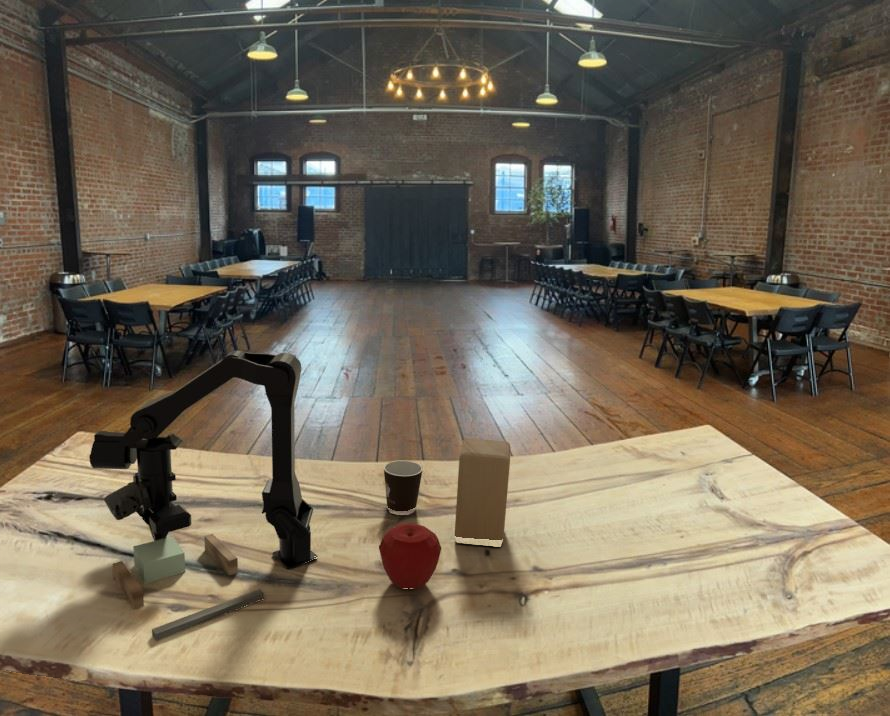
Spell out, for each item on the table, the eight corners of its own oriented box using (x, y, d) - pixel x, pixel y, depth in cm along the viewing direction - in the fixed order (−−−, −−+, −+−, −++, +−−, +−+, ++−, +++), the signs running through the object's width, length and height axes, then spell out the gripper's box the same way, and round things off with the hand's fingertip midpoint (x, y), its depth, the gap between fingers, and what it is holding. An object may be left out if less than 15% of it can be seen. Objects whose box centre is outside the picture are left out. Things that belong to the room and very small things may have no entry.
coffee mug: (419, 519, 147) (421, 477, 145) (380, 517, 147) (381, 474, 145) (422, 496, 159) (424, 456, 156) (385, 493, 159) (387, 454, 156)
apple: (449, 580, 125) (452, 523, 122) (417, 608, 116) (420, 547, 113) (400, 561, 131) (402, 506, 128) (366, 587, 122) (368, 528, 119)
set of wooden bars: (264, 599, 117) (264, 583, 116) (155, 641, 105) (154, 624, 104) (213, 547, 132) (212, 533, 131) (113, 578, 120) (112, 563, 119)
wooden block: (503, 526, 146) (510, 440, 142) (502, 550, 137) (510, 458, 132) (457, 522, 147) (463, 435, 142) (453, 545, 138) (459, 453, 133)
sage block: (185, 572, 123) (184, 552, 122) (144, 584, 119) (143, 563, 118) (173, 555, 129) (172, 536, 128) (134, 565, 124) (133, 546, 124)
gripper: (92, 461, 126) (98, 537, 129) (124, 499, 112) (129, 582, 116) (154, 449, 133) (158, 521, 137) (190, 483, 119) (194, 562, 123)
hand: (159, 545), depth 128 cm, fingers closed
